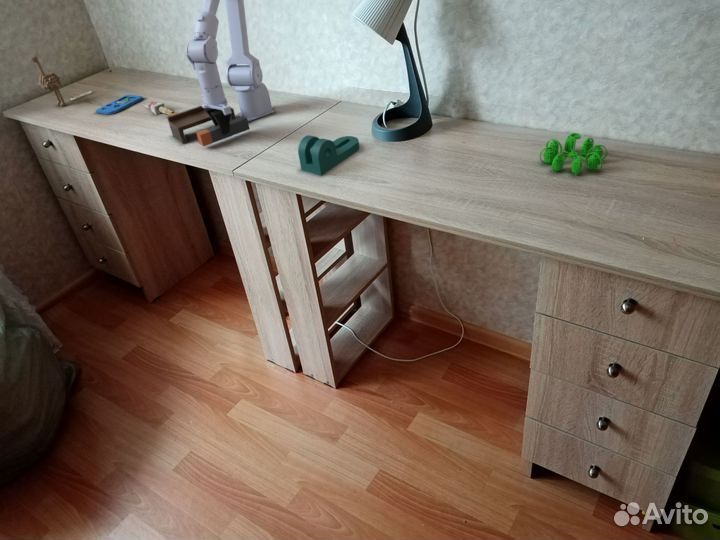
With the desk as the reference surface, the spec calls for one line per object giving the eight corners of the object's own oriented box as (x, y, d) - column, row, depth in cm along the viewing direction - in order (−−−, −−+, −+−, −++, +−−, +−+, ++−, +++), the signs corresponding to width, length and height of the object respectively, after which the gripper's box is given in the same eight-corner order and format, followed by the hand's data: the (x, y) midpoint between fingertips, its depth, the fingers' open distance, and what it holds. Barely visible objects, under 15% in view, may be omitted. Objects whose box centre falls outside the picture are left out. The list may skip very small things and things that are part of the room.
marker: (245, 126, 166) (242, 115, 164) (250, 129, 164) (247, 118, 162) (199, 143, 159) (196, 132, 157) (203, 146, 158) (200, 135, 155)
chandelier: (525, 164, 133) (527, 137, 129) (565, 142, 139) (568, 116, 135) (579, 185, 123) (584, 156, 119) (619, 161, 129) (625, 133, 125)
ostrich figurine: (57, 110, 200) (34, 59, 189) (47, 107, 203) (24, 57, 192) (97, 93, 210) (78, 44, 199) (88, 91, 213) (68, 43, 202)
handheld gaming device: (94, 109, 192) (126, 93, 202) (95, 112, 193) (127, 96, 203) (111, 111, 189) (142, 95, 199) (112, 114, 190) (143, 98, 200)
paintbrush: (148, 96, 191) (181, 109, 180) (151, 104, 193) (183, 117, 182) (138, 100, 189) (171, 113, 178) (141, 108, 191) (173, 122, 180)
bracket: (321, 175, 139) (316, 146, 134) (301, 170, 143) (296, 141, 138) (364, 146, 150) (361, 118, 145) (345, 142, 153) (341, 114, 148)
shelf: (226, 117, 177) (221, 98, 173) (237, 124, 172) (232, 104, 168) (173, 136, 169) (166, 116, 166) (183, 143, 164) (176, 124, 160)
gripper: (187, 84, 156) (201, 129, 164) (209, 96, 146) (222, 143, 154) (210, 76, 159) (222, 121, 167) (232, 88, 149) (244, 135, 157)
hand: (223, 131), depth 161 cm, fingers closed on marker, 2 cm apart
